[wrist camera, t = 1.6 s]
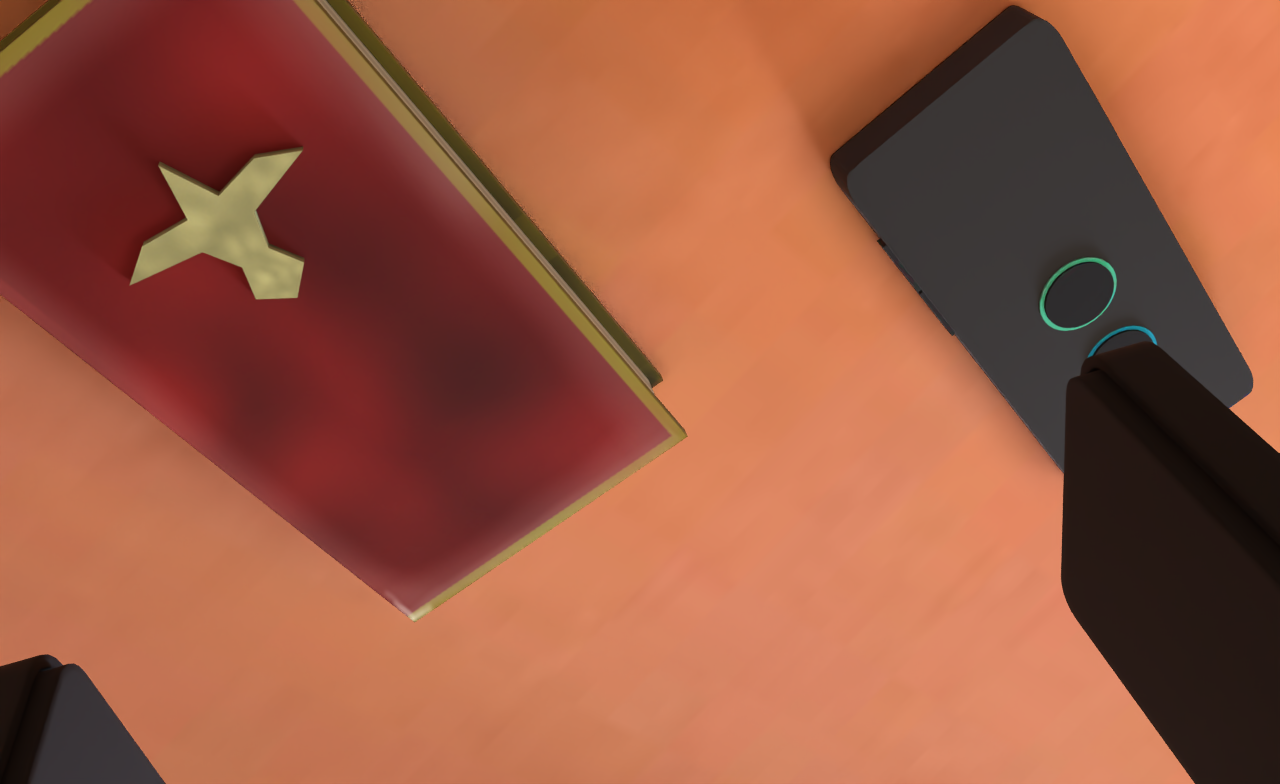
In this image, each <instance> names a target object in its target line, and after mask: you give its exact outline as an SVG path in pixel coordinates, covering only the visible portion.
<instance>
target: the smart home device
mask: <svg viewBox="0 0 1280 784" xmlns="http://www.w3.org/2000/svg"><path fill="white" fill-rule="evenodd" d="M830 165H831V171H832V174H833V176H834V178H835V180H836V182H837V184H838V185H839V187H840V188H841V190H842V191H843V192H844V193H845V195H846V196H847V197H848V199H849V200H850V201H851V202H852V204H853V205H854V206H855V208H856V209H857V210H858V211H859V213H860V214H861V215H862V217H863V218H864V219H865V220H866V222H867V223H868V224H869V225H870V227H871V228H872V229H873V231H874V232H875V233H876V234H877V236H878V237H879V238H880V239H879V240H878V241H877V242H878V243H879V244H880V245H881V247H882V248H883V249H884V251H885V252H886V253H887V254H888V256H889V257H890V258H891V259H892V261H893V262H894V263H895V265H896V266H897V267H898V268H899V270H900V271H901V272H902V273H903V275H904V276H905V277H906V279H907V280H908V281H909V282H910V284H911V285H912V286H913V287H914V289H915V290H916V291H917V293H918V294H919V295H920V296H921V298H922V299H923V300H924V301H925V303H926V304H927V305H928V307H929V308H930V309H931V310H932V312H933V313H934V314H935V315H936V317H937V318H938V319H939V321H940V322H941V323H942V324H943V326H944V327H945V328H946V329H947V331H948V332H949V333H950V334H951V335H952V336H953V335H954V334H955V335H956V337H957V338H958V339H959V341H960V342H961V343H962V344H963V346H964V347H965V348H966V350H967V351H968V352H969V353H970V355H971V356H972V357H973V358H974V360H975V361H976V362H977V364H978V365H979V366H980V367H981V369H982V370H983V371H984V373H985V374H986V375H987V376H988V378H989V379H990V380H991V381H992V383H993V384H994V385H995V387H996V388H997V389H998V390H999V392H1000V393H1001V394H1002V396H1003V397H1004V398H1005V399H1006V401H1007V402H1008V403H1009V404H1010V406H1011V407H1012V408H1013V410H1014V411H1015V412H1016V413H1017V415H1018V416H1019V417H1020V419H1021V420H1022V421H1023V422H1024V424H1025V425H1026V426H1027V428H1028V429H1029V430H1030V431H1031V433H1032V434H1033V435H1034V436H1035V438H1036V439H1037V440H1038V442H1039V443H1040V444H1041V445H1042V447H1043V448H1044V449H1045V451H1046V452H1047V453H1048V454H1049V456H1050V457H1051V458H1052V459H1053V461H1054V462H1055V463H1056V465H1057V466H1058V467H1059V468H1060V470H1061V471H1062V472H1063V473H1064V450H1065V412H1066V388H1067V384H1068V382H1069V380H1070V379H1071V378H1073V377H1076V376H1080V373H1081V366H1082V364H1083V362H1084V361H1085V359H1087V358H1088V357H1090V356H1093V355H1097V354H1100V353H1104V352H1107V351H1111V350H1114V349H1118V348H1121V347H1125V346H1129V345H1132V344H1136V343H1139V342H1143V341H1148V342H1153V343H1154V344H1156V345H1157V346H1159V347H1160V348H1162V349H1163V350H1164V351H1165V352H1166V353H1167V354H1168V355H1169V356H1170V357H1172V358H1173V359H1174V360H1175V361H1176V362H1177V363H1178V364H1179V365H1181V366H1182V367H1183V368H1184V369H1185V370H1186V371H1187V372H1188V373H1190V374H1191V375H1192V376H1193V377H1194V378H1195V379H1196V380H1197V381H1199V382H1200V383H1201V384H1202V385H1203V386H1204V387H1205V388H1206V389H1207V390H1209V391H1210V392H1211V393H1212V394H1213V395H1214V396H1215V397H1216V398H1218V399H1219V400H1220V401H1221V402H1222V403H1223V404H1224V405H1225V406H1227V407H1228V408H1230V407H1231V406H1233V405H1234V404H1236V403H1237V402H1238V401H1240V400H1241V399H1243V398H1244V397H1245V396H1247V395H1248V394H1249V393H1250V392H1251V391H1252V388H1253V377H1252V373H1251V371H1250V369H1249V367H1248V365H1247V363H1246V362H1245V360H1244V358H1243V356H1242V355H1241V353H1240V351H1239V349H1238V347H1237V346H1236V344H1235V342H1234V340H1233V339H1232V337H1231V335H1230V333H1229V332H1228V330H1227V328H1226V326H1225V325H1224V323H1223V321H1222V319H1221V317H1220V316H1219V314H1218V312H1217V310H1216V309H1215V307H1214V305H1213V303H1212V302H1211V300H1210V298H1209V296H1208V295H1207V293H1206V291H1205V289H1204V287H1203V286H1202V284H1201V282H1200V280H1199V279H1198V277H1197V275H1196V273H1195V272H1194V270H1193V268H1192V266H1191V264H1190V263H1189V261H1188V259H1187V257H1186V256H1185V254H1184V252H1183V250H1182V249H1181V247H1180V245H1179V243H1178V242H1177V240H1176V238H1175V236H1174V234H1173V233H1172V231H1171V229H1170V227H1169V226H1168V224H1167V222H1166V220H1165V219H1164V217H1163V215H1162V213H1161V212H1160V210H1159V208H1158V206H1157V204H1156V203H1155V201H1154V199H1153V197H1152V196H1151V194H1150V192H1149V190H1148V189H1147V187H1146V185H1145V183H1144V182H1143V180H1142V178H1141V176H1140V174H1139V173H1138V171H1137V169H1136V167H1135V166H1134V164H1133V162H1132V160H1131V159H1130V157H1129V155H1128V153H1127V151H1126V150H1125V148H1124V146H1123V144H1122V143H1121V141H1120V139H1119V137H1118V136H1117V133H1116V132H1115V130H1114V128H1113V126H1112V124H1111V123H1110V121H1109V119H1108V117H1107V116H1106V114H1105V112H1104V110H1103V109H1102V107H1101V105H1100V103H1099V102H1098V100H1097V98H1096V96H1095V94H1094V93H1093V91H1092V89H1091V87H1090V86H1089V84H1088V82H1087V81H1086V79H1085V77H1084V76H1083V74H1082V72H1081V70H1080V68H1079V67H1078V65H1077V63H1076V61H1075V60H1074V58H1073V56H1072V54H1071V53H1070V51H1069V49H1068V47H1067V46H1066V44H1065V42H1064V40H1063V39H1062V37H1061V35H1060V34H1059V33H1058V31H1057V30H1056V29H1055V28H1054V27H1053V26H1052V25H1051V24H1050V23H1048V22H1047V21H1045V20H1043V19H1041V18H1039V17H1038V16H1036V15H1034V14H1032V13H1030V12H1028V11H1026V10H1024V9H1022V8H1020V7H1018V6H1010V7H1008V8H1007V9H1006V10H1005V11H1003V12H1002V13H1001V14H1000V15H999V16H997V17H996V18H995V19H994V20H993V21H992V22H990V23H989V24H988V25H987V26H986V27H984V28H983V29H982V30H981V31H980V32H978V33H977V34H976V35H975V36H974V37H972V38H971V39H970V40H969V41H968V42H966V43H965V44H964V45H963V46H962V47H961V48H959V49H958V50H957V51H956V52H955V53H953V54H952V55H951V56H950V57H949V58H947V59H946V60H945V61H944V62H943V63H941V64H940V65H939V66H938V67H937V68H935V69H934V70H933V71H932V72H931V73H929V74H928V75H927V76H926V77H925V78H924V79H922V80H921V81H920V82H919V83H918V84H916V85H915V86H914V87H913V88H912V89H910V90H909V91H908V92H907V93H906V94H904V95H903V96H902V97H901V98H900V99H898V100H897V101H896V102H895V103H894V104H893V105H891V106H890V107H889V108H888V109H887V110H885V111H884V112H883V113H882V114H881V115H879V116H878V117H877V118H876V119H875V120H873V121H872V122H871V123H870V124H869V125H867V126H866V127H865V128H864V129H863V130H862V131H860V132H859V133H858V134H857V135H856V136H854V137H853V138H852V139H851V140H850V141H848V142H847V143H846V144H845V145H844V146H842V147H841V148H840V149H839V150H838V151H836V152H835V153H834V154H833V155H832V157H831V161H830Z"/></svg>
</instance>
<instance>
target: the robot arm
mask: <svg viewBox="0 0 1280 784" xmlns="http://www.w3.org/2000/svg"><path fill="white" fill-rule="evenodd" d="M1061 582H1062V588H1063V592H1064V595H1065V598H1066V601H1067V603H1068V606H1069V608H1070V610H1071V612H1072V613H1073V615H1074V616H1075V618H1076V619H1077V621H1078V622H1079V624H1080V625H1081V626H1082V628H1083V629H1084V630H1085V632H1086V633H1087V635H1088V636H1089V637H1090V639H1091V640H1092V642H1093V643H1094V644H1095V646H1096V647H1097V648H1098V650H1099V651H1100V653H1101V654H1102V655H1103V657H1104V658H1105V660H1106V661H1107V662H1108V664H1109V665H1110V666H1111V668H1112V669H1113V671H1114V672H1115V673H1116V675H1117V676H1118V678H1119V679H1120V680H1121V682H1122V683H1123V684H1124V686H1125V687H1126V689H1127V690H1128V691H1129V693H1130V694H1131V696H1132V697H1133V698H1134V700H1135V701H1136V702H1137V704H1138V705H1139V707H1140V708H1141V709H1142V711H1143V712H1144V714H1145V715H1146V716H1147V718H1148V719H1149V720H1150V722H1151V723H1152V725H1153V726H1154V727H1155V729H1156V730H1157V732H1158V733H1159V734H1160V736H1161V737H1162V738H1163V740H1164V741H1165V743H1166V744H1167V745H1168V747H1169V748H1170V750H1171V751H1172V752H1173V754H1174V755H1175V756H1176V758H1177V759H1178V761H1179V762H1180V763H1181V765H1182V766H1183V768H1184V769H1185V770H1186V772H1187V773H1188V774H1189V776H1190V777H1191V779H1192V780H1193V781H1194V783H1195V784H1280V453H1278V452H1277V451H1276V450H1275V449H1274V448H1272V447H1271V446H1270V445H1269V444H1268V443H1267V442H1266V441H1265V440H1263V439H1262V438H1261V437H1260V436H1259V435H1258V434H1257V433H1256V432H1255V431H1253V430H1252V429H1251V428H1250V427H1249V426H1248V425H1247V424H1246V423H1244V422H1243V421H1242V420H1241V419H1240V418H1239V417H1238V416H1237V415H1235V414H1234V413H1233V412H1232V411H1231V410H1230V409H1229V408H1228V407H1227V406H1225V405H1224V404H1223V403H1222V402H1221V401H1220V400H1219V399H1218V398H1216V397H1215V396H1214V395H1213V394H1212V393H1211V392H1210V391H1209V390H1207V389H1206V388H1205V387H1204V386H1203V385H1202V384H1201V383H1200V382H1199V381H1197V380H1196V379H1195V378H1194V377H1193V376H1192V375H1191V374H1190V373H1188V372H1187V371H1186V370H1185V369H1184V368H1183V367H1182V366H1181V365H1179V364H1178V363H1177V362H1176V361H1175V360H1174V359H1173V358H1172V357H1170V356H1169V355H1168V354H1167V353H1166V352H1165V351H1164V350H1163V349H1162V348H1160V347H1159V346H1157V345H1156V344H1154V343H1153V342H1148V341H1143V342H1139V343H1136V344H1132V345H1129V346H1125V347H1121V348H1118V349H1114V350H1111V351H1107V352H1104V353H1100V354H1097V355H1093V356H1090V357H1088V358H1087V359H1085V361H1084V362H1083V364H1082V366H1081V373H1080V376H1076V377H1073V378H1071V379H1070V380H1069V382H1068V384H1067V388H1066V412H1065V450H1064V487H1063V525H1062V563H1061ZM0 784H165V782H164V781H163V779H162V778H161V777H160V775H159V774H158V773H157V771H156V770H155V768H154V767H153V766H152V764H151V763H150V762H149V760H148V759H147V757H146V756H145V755H144V753H143V752H142V750H141V749H140V748H139V746H138V745H137V744H136V742H135V741H134V739H133V738H132V737H131V735H130V734H129V732H128V731H127V730H126V728H125V727H124V726H123V724H122V723H121V721H120V720H119V719H118V717H117V716H116V714H115V713H114V712H113V710H112V709H111V708H110V706H109V705H108V703H107V702H106V701H105V699H104V698H103V697H102V695H101V694H100V692H99V691H98V690H97V688H96V687H95V685H94V684H93V683H92V681H91V680H90V679H89V677H88V676H87V674H86V673H85V672H84V671H83V670H82V669H81V668H80V666H78V665H76V664H67V665H62V664H61V663H60V662H59V661H58V660H57V659H56V658H55V657H53V656H50V655H48V654H47V655H39V656H36V657H32V658H29V659H25V660H22V661H18V662H15V663H11V664H8V665H4V666H0Z"/></svg>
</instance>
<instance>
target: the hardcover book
mask: <svg viewBox="0 0 1280 784" xmlns="http://www.w3.org/2000/svg"><path fill="white" fill-rule="evenodd" d="M0 295H2V296H3V297H4V298H5V299H7V300H8V301H9V302H10V303H12V304H13V305H14V306H16V307H17V308H18V309H19V310H21V311H22V312H23V313H24V314H26V315H27V316H28V317H29V318H31V319H32V320H33V321H34V322H36V323H37V324H38V325H40V326H41V327H42V328H43V329H45V330H46V331H47V332H48V333H50V334H51V335H52V336H53V337H55V338H56V339H57V340H59V341H60V342H61V343H62V344H64V345H65V346H66V347H67V348H69V349H70V350H71V351H72V352H74V353H75V354H76V355H77V356H79V357H80V358H81V359H83V360H84V361H85V362H86V363H88V364H89V365H90V366H91V367H93V368H94V369H95V370H96V371H98V372H99V373H100V374H101V375H103V376H104V377H105V378H107V379H108V380H109V381H110V382H112V383H113V384H114V385H115V386H117V387H118V388H119V389H120V390H122V391H123V392H124V393H125V394H127V395H128V396H129V397H131V398H132V399H133V400H134V401H136V402H137V403H138V404H139V405H141V406H142V407H143V408H144V409H146V410H147V411H148V412H149V413H151V414H152V415H153V416H155V417H156V418H157V419H158V420H160V421H161V422H162V423H163V424H165V425H166V426H167V427H168V428H170V429H171V430H172V431H174V432H175V433H176V434H177V435H179V436H180V437H181V438H182V439H184V440H185V441H186V442H187V443H189V444H190V445H191V446H192V447H194V448H195V449H196V450H198V451H199V452H200V453H201V454H203V455H204V456H205V457H206V458H208V459H209V460H210V461H211V462H213V463H214V464H215V465H216V466H218V467H219V468H220V469H222V470H223V471H224V472H225V473H227V474H228V475H229V476H230V477H232V478H233V479H234V480H235V481H237V482H238V483H239V484H240V485H242V486H243V487H244V488H246V489H247V490H248V491H249V492H251V493H252V494H253V495H254V496H256V497H257V498H258V499H259V500H261V501H262V502H263V503H265V504H266V505H267V506H268V507H270V508H271V509H272V510H273V511H275V512H276V513H277V514H278V515H280V516H281V517H282V518H283V519H285V520H286V521H287V522H289V523H290V524H291V525H292V526H294V527H295V528H296V529H297V530H299V531H300V532H301V533H302V534H304V535H305V536H306V537H307V538H309V539H310V540H311V541H313V542H314V543H315V544H316V545H318V546H319V547H320V548H321V549H323V550H324V551H325V552H326V553H328V554H329V555H330V556H331V557H333V558H334V559H335V560H337V561H338V562H339V563H340V564H342V565H343V566H344V567H345V568H347V569H348V570H349V571H350V572H352V573H353V574H354V575H356V576H357V577H358V578H359V579H361V580H362V581H363V582H364V583H366V584H367V585H368V586H369V587H371V588H372V589H373V590H374V591H376V592H377V593H378V594H380V595H381V596H382V597H383V598H385V599H386V600H387V601H388V602H390V603H391V604H392V605H393V606H395V607H396V608H397V609H398V610H400V611H401V612H402V613H404V614H405V615H406V616H407V617H409V618H410V619H411V620H413V621H414V622H416V621H417V620H419V619H420V618H422V617H423V616H425V615H426V614H428V613H429V612H431V611H432V610H434V609H435V608H437V607H438V606H440V605H441V604H442V603H444V602H445V601H447V600H448V599H450V598H451V597H453V596H454V595H456V594H457V593H459V592H460V591H462V590H463V589H464V588H466V587H467V586H469V585H470V584H472V583H473V582H475V581H476V580H478V579H479V578H481V577H482V576H484V575H485V574H486V573H488V572H489V571H491V570H492V569H494V568H495V567H497V566H498V565H500V564H501V563H503V562H504V561H506V560H507V559H509V558H510V557H511V556H513V555H514V554H516V553H517V552H519V551H520V550H522V549H523V548H525V547H526V546H528V545H529V544H531V543H532V542H533V541H535V540H536V539H538V538H539V537H541V536H542V535H544V534H545V533H547V532H548V531H550V530H551V529H553V528H554V527H556V526H557V525H558V524H560V523H561V522H563V521H564V520H566V519H567V518H569V517H570V516H572V515H573V514H575V513H576V512H578V511H579V510H580V509H582V508H583V507H585V506H586V505H588V504H589V503H591V502H592V501H594V500H595V499H597V498H598V497H600V496H601V495H603V494H604V493H605V492H607V491H608V490H610V489H611V488H613V487H614V486H616V485H617V484H619V483H620V482H622V481H623V480H625V479H626V478H627V477H629V476H630V475H632V474H633V473H635V472H636V471H638V470H639V469H641V468H642V467H644V466H645V465H647V464H648V463H649V462H651V461H652V460H654V459H655V458H657V457H658V456H660V455H661V454H663V453H664V452H666V451H667V450H669V449H670V448H672V447H673V446H674V445H676V444H677V443H679V442H680V441H682V440H683V439H685V438H686V437H688V436H687V434H686V432H685V430H684V428H683V427H682V426H681V425H680V424H679V423H678V421H677V420H676V419H675V418H674V417H673V416H672V414H671V413H670V412H669V411H668V410H667V409H666V407H665V406H664V405H663V404H662V403H661V402H660V400H659V399H658V398H657V397H656V396H655V394H654V392H653V390H652V388H653V387H654V386H656V385H657V384H658V383H660V382H661V381H663V379H662V376H661V374H660V373H659V372H658V371H657V370H656V368H655V367H654V366H653V365H652V364H651V362H650V361H649V360H648V359H647V358H646V356H645V355H644V354H643V353H642V352H641V350H640V349H639V348H638V347H637V346H636V344H635V343H634V342H633V341H632V340H631V339H630V337H629V336H628V335H627V334H626V333H625V331H624V330H623V329H622V328H621V327H620V325H619V324H618V323H617V322H616V321H615V319H614V318H613V317H612V316H611V315H610V313H609V312H608V311H607V310H606V309H605V307H604V306H603V305H602V304H601V303H600V301H599V300H598V299H597V298H596V297H595V296H594V294H593V293H592V292H591V291H590V290H589V288H588V287H587V286H586V285H585V284H584V282H583V281H582V280H581V279H580V278H579V276H578V275H577V274H576V273H575V272H574V270H573V269H572V268H571V267H570V266H569V264H568V263H567V262H566V261H565V260H564V259H563V257H562V256H561V255H560V254H559V253H558V251H557V250H556V249H555V248H554V247H553V245H552V244H551V243H550V242H549V241H548V239H547V238H546V237H545V236H544V235H543V233H542V232H541V231H540V230H539V229H538V227H537V226H536V225H535V224H534V223H533V221H532V220H531V219H530V218H529V217H528V216H527V214H526V213H525V212H524V211H523V210H522V208H521V207H520V206H519V205H518V204H517V202H516V201H515V200H514V199H513V198H512V196H511V195H510V194H509V193H508V192H507V190H506V189H505V188H504V187H503V186H502V184H501V183H500V182H499V181H498V180H497V178H496V177H495V176H494V175H493V174H492V173H491V171H490V170H489V169H488V168H487V167H486V165H485V164H484V163H483V162H482V161H481V159H480V158H479V157H478V156H477V155H476V153H475V152H474V151H473V150H472V149H471V147H470V146H469V145H468V144H467V143H466V141H465V140H464V139H463V138H462V137H461V136H460V134H459V133H458V132H457V131H456V130H455V128H454V127H453V126H452V125H451V124H450V122H449V121H448V120H447V119H446V118H445V116H444V115H443V114H442V113H441V112H440V110H439V109H438V108H437V107H436V106H435V104H434V103H433V102H432V101H431V100H430V98H429V97H428V96H427V95H426V94H425V93H424V91H423V90H422V89H421V88H420V87H419V85H418V84H417V83H416V82H415V81H414V79H413V78H412V77H411V76H410V75H409V73H408V72H407V71H406V70H405V69H404V67H403V66H402V65H401V64H400V63H399V61H398V60H397V59H396V58H395V57H394V55H393V54H392V53H391V52H390V51H389V50H388V48H387V47H386V46H385V45H384V44H383V42H382V41H381V40H380V39H379V38H378V36H377V35H376V34H375V33H374V32H373V30H372V29H371V28H370V27H369V26H368V24H367V23H366V22H365V21H364V20H363V18H362V17H361V16H360V15H359V14H358V12H357V11H356V10H355V9H354V8H353V7H352V5H351V4H350V3H349V2H348V1H347V0H48V1H47V2H46V3H45V4H44V5H42V6H41V7H40V8H39V9H38V10H37V11H35V12H34V13H33V14H32V15H31V16H29V17H28V18H27V19H26V20H25V21H24V22H22V23H21V24H20V25H19V26H18V27H16V28H15V29H14V30H13V31H12V32H11V33H9V34H8V35H7V36H6V37H5V38H4V39H2V40H1V41H0Z"/></svg>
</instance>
